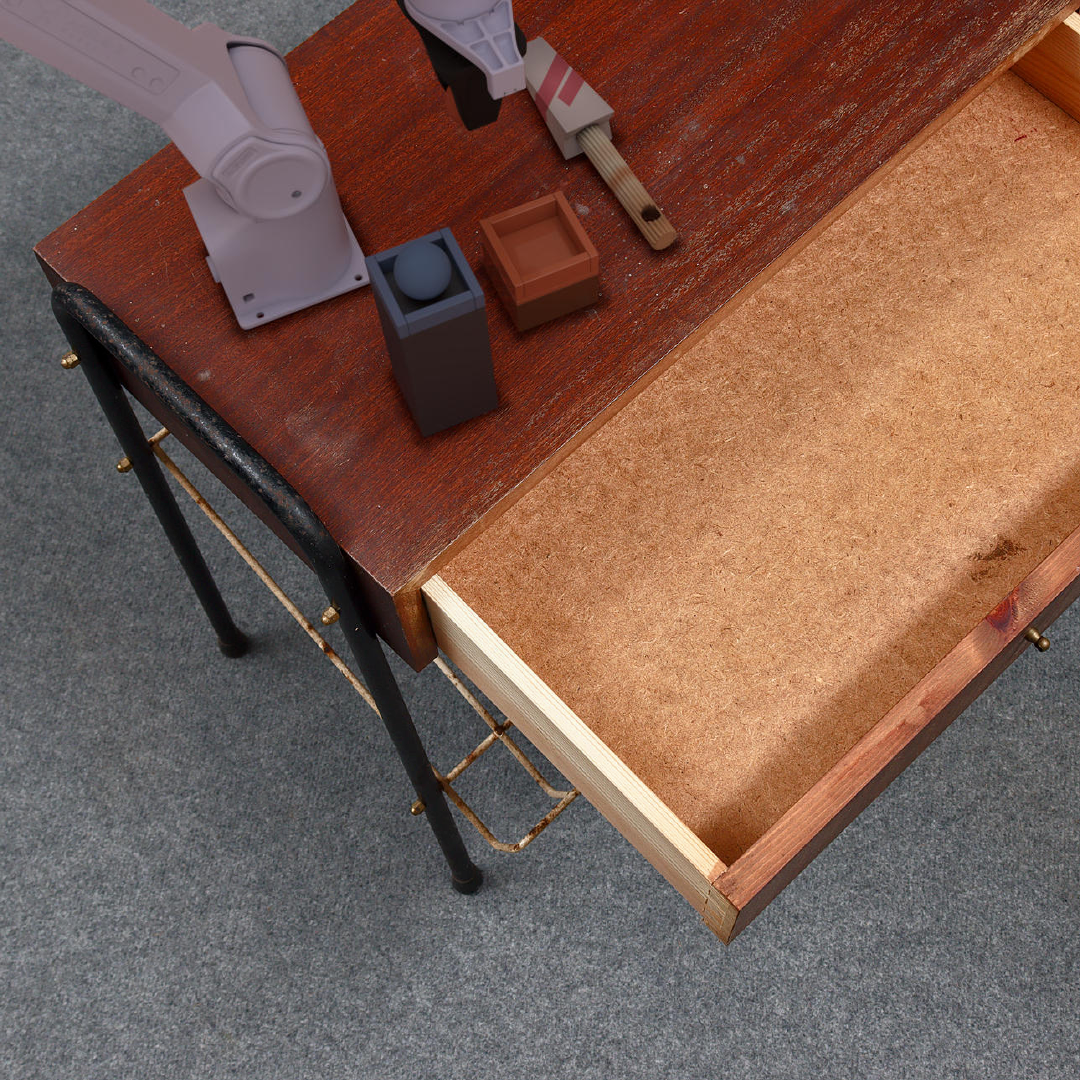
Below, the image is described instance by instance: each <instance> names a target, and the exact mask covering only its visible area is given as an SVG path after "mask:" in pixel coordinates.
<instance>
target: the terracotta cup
mask: <svg viewBox="0 0 1080 1080" xmlns="http://www.w3.org/2000/svg"><path fill="white" fill-rule="evenodd" d="M575 213H576V212H575V211H574V210H573V208H572V207H571V205H570V203H569V202H568V200H567V198H566V196H565V195H564V193H563V191H562V190H556V191H555V192H552V193H550V194H547V195H544V196H541V197H539V198H536V199H534V200H531V201H528V202H526V203H523V204H520V205H518V206H515V207H513V208H510V209H507V210H505V211H502V212H499V213H497V214H493V215H491V216H489V217H486V218H483V219H480V220H479V222H478V223H479V231H480V240H481V248H482V255H483V263H484V264H483V265H484V270H485V271H486V273H487V276H488V277H489V279H490V282H491V283H492V285H493V287H494V289H495V291H496V292H497V294H498V296H499V298H500V300H501V302H502V303H503V306H504V307H505V309H506V311H507V313H508V315H509V317H510V319H511V320H512V322H513V324H514V326H515V328H516V330H517V331H518V333H522V332H525V331H527V330H530V329H533V328H535V327H537V326H540V325H542V324H546V323H548V322H550V321H553V320H556V319H557V318H560V317H562V316H563V317H564V316H566V315H568V314H571V313H573V312H575V311H578V310H581V309H583V308H586V307H588V306H591V305H592V304H595V303H598V302H599V278H600V277H599V273H600V270H599V268H600V267H599V266H600V264H599V263H600V262H599V261H600V259H599V258H600V254H599V252H598V250H597V249H596V248H595V246H594V244H593V242H592V240H591V239H590V237H589V235H588V234H587V232H586V230H585V228H584V227H583V226H582V224H581V222H580V220H579V219H578V217H577V215H576V214H575Z"/></svg>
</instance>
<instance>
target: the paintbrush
mask: <svg viewBox="0 0 1080 1080" xmlns="http://www.w3.org/2000/svg"><path fill="white" fill-rule="evenodd" d="M522 59H523V61H524V64H525V80H526V89H527V90H528V92H529V93H530V96H531V98H532V100H533V101H534V103H535V105H536V107H537V109H538V111H539V113H540V114H541V116H542V118H543V121H544V122H545V124H546V126H547V127H548V129H549V131H550V133H551V135H552V137H553V139H554V141H555V143H556V145H557V146H558V148H559V150H560V152H561V153H562V156H563V157H564V159H565V161H567V160H569V159H571V158H574V157H576V156H579V155H580V154H582V153H584V154H585V155H586V157H587V158H588V159H589V160H590V162H591V163H592V165H593V167H595V169H596V170H597V172H598V173H599V175H600V176H601V177H602V179H603V180H604V182H605V183H606V184H607V186H608V187H609V188H610V190H611V191H612V192H613V194H614V196H615V197H616V199H618V201H619V202H620V204H621V205H622V206H623V208H624V209H625V211H626V212H627V214H629V216H630V217H631V220H633V222H634V224H636V226H637V227H638V229H639V230H640V232H641V233H642V235H643V236H644V238H645V239H646V240H647V242H648V243H649V245H650V246H651V247H652V249H653V250H656V251H659V250H660V251H662V250H663V249H666V248H667V247H670V246H671V244H673V243H674V241H675V240H676V239H677V236H678V234H677V231H676V229H675V228H674V226H672V224H671V223H670V221H669V220H668V219H667V217H666V216H665V214H663V212H662V211H661V209H660V208H659V207H658V206H657V204H656V203H655V201H654V200H653V199H652V197H651V196H650V194H649V193H648V191H647V190H646V188H645V187H644V186H643V184H642V183H641V182H640V180H639V179H638V178H637V176H636V175H635V174H634V172H633V171H632V169H631V167H629V165H628V164H627V162H626V161H625V159H624V158H623V157H622V156H621V154H620V153H619V152H618V150H617V149H616V147H615V146H614V144H613V143H612V142H611V140H613V136H612V135H613V134H612V129H611V125H610V120H611V118H612V116H613V115H614V113H615V110H614V109H613V108H612V106H610V105H609V104H608V103H607V102H606V101H605V100H604V99H603V98H602V97H601V96H600V95H599V94H598V93H597V92H596V91H595V90H594V89H593V88H592V87H591V86H590V85H589V84H588V83H587V81H585V80H584V79H583V78H582V77H581V76H580V75H579V74H578V73H577V71H576V70H574V69H573V68H572V66H571V65H570V64H569V63H568V62H567V61H566V60H565V59H564V58H562V56H561V55H560V54H559V53H558V52H557V51H556V50H555V49H554V48H553V47H552V46H551V45H550V44H549V43H548V42H547V41H546V40H545V39H544V38H543V37H542V36H539V37H536V38H535V39H533V40H530V41H527V52H526V54H525V56H524V57H523V58H522ZM650 220H652V221H650Z"/></svg>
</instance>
